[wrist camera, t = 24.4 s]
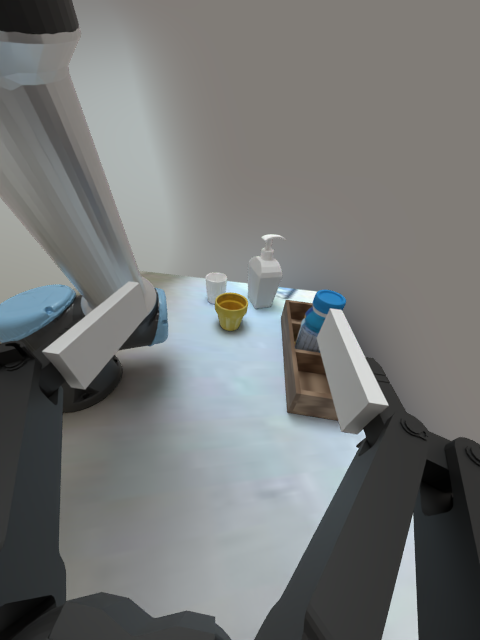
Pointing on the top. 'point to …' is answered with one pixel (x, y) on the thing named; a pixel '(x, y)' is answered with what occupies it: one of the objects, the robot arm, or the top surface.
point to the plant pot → (230, 310)
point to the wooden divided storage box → (303, 369)
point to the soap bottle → (264, 275)
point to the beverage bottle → (317, 319)
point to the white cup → (215, 285)
